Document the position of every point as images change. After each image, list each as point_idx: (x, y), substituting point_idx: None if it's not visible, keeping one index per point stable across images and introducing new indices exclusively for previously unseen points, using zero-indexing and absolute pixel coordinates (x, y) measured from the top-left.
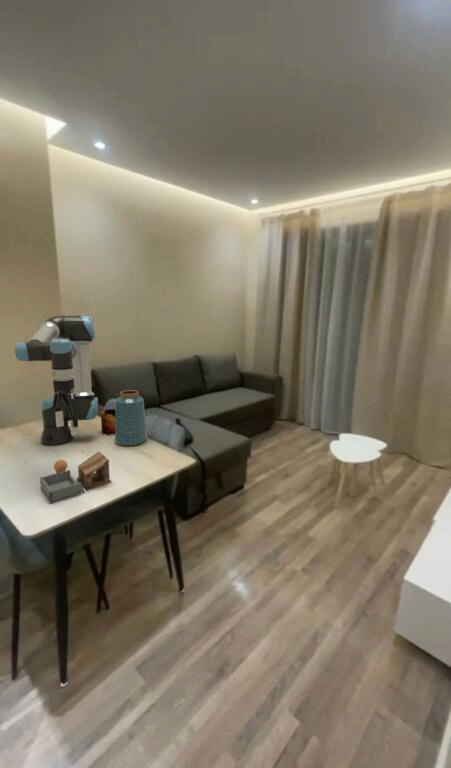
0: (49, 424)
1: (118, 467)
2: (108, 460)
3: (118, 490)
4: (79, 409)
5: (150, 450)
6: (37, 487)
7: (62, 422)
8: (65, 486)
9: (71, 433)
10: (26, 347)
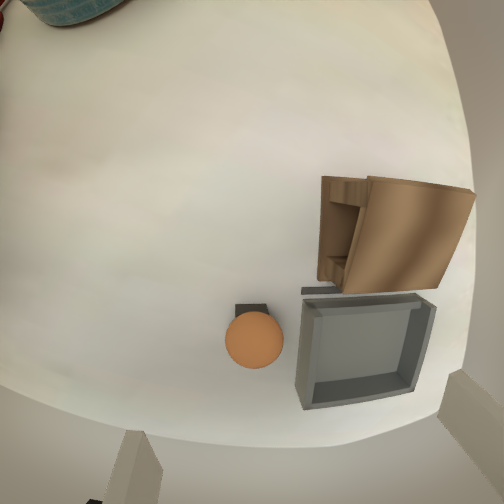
0: None
1: (319, 97)
2: (472, 194)
3: None
4: None
5: None
6: (280, 392)
7: (140, 466)
8: (421, 352)
9: (449, 423)
10: None
